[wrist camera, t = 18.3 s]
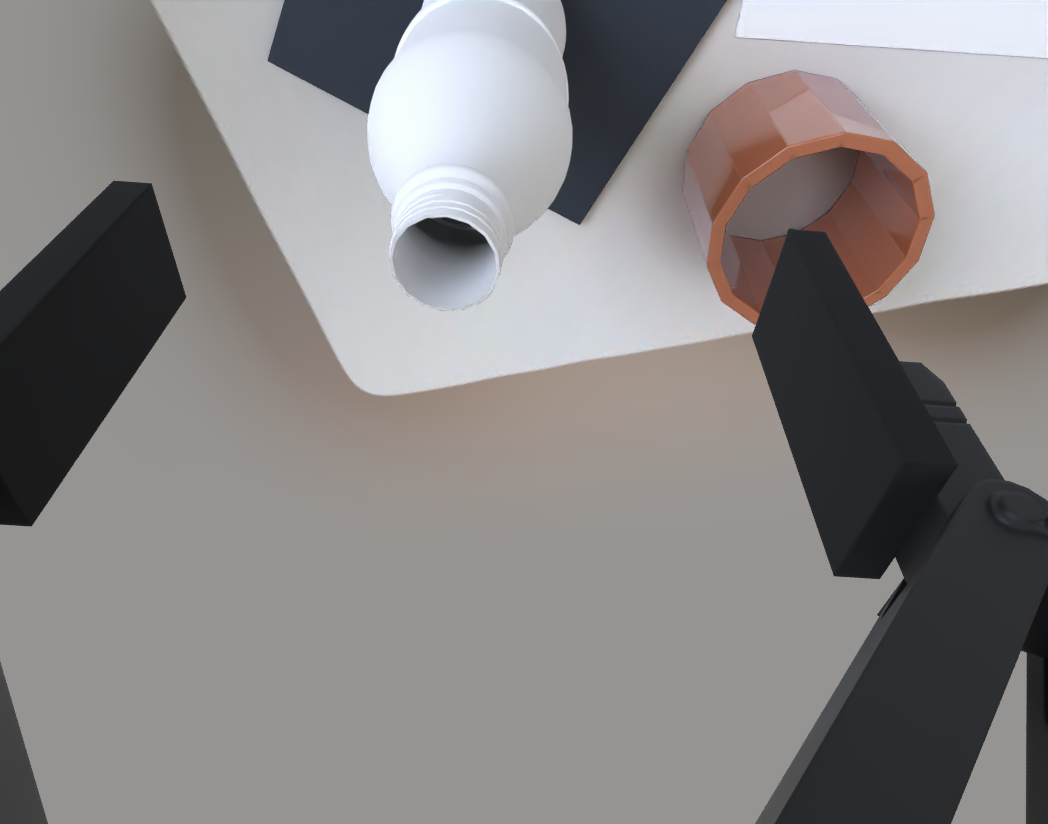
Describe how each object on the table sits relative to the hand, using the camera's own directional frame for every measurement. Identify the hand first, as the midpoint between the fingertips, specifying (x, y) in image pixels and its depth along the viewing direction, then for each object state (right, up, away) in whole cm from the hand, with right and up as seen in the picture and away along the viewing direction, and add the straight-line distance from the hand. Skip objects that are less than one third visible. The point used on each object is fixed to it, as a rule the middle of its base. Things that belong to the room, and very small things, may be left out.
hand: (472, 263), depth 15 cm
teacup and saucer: (+23, +24, +16) cm, 37 cm away
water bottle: (0, +18, +22) cm, 28 cm away
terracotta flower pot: (+16, +11, +27) cm, 34 cm away
